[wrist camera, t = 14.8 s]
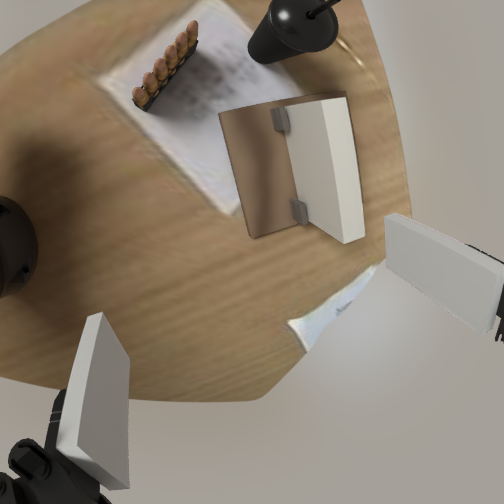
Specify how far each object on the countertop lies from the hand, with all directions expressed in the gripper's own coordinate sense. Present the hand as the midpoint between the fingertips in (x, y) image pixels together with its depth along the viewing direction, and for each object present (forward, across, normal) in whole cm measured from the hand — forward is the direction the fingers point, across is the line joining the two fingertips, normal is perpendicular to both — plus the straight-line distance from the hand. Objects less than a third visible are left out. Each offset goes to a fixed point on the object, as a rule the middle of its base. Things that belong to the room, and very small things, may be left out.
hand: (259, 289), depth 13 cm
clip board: (+31, +15, -1) cm, 34 cm away
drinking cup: (+31, +14, +16) cm, 38 cm away
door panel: (+29, +15, -1) cm, 33 cm away
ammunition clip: (+31, 0, +15) cm, 34 cm away
